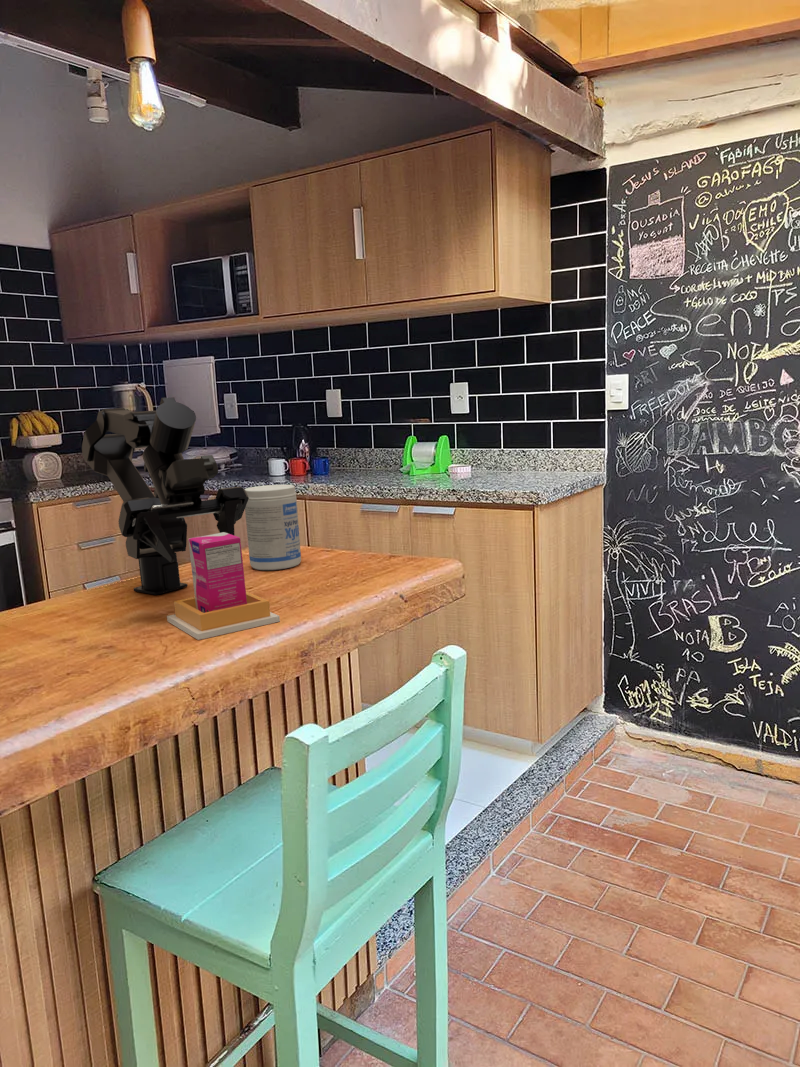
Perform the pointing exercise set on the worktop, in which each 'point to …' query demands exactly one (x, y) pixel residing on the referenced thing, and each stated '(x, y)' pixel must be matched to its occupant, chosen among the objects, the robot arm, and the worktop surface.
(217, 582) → the supplement box
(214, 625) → the collar socket
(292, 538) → the supplement tub
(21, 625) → the worktop surface
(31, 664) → the worktop surface
